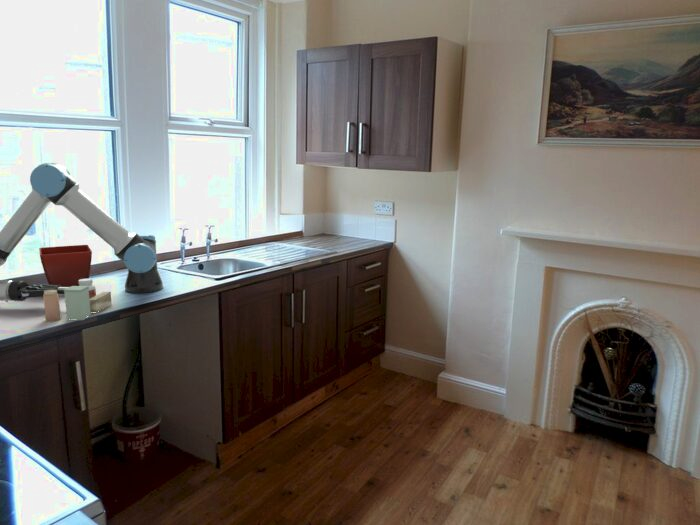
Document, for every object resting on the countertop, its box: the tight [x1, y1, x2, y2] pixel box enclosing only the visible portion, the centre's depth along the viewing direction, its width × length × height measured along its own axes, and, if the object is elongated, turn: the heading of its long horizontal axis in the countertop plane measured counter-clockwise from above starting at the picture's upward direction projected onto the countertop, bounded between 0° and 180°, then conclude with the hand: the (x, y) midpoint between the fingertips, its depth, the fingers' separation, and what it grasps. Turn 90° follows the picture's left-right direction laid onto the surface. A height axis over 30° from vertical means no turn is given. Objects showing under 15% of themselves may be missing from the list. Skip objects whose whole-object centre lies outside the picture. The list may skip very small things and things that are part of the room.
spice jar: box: [42, 290, 62, 322], centre depth 192 cm, size 5×5×10 cm
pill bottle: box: [78, 278, 97, 299], centre depth 205 cm, size 6×6×11 cm
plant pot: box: [38, 244, 93, 287], centre depth 236 cm, size 19×19×17 cm
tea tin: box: [64, 286, 92, 321], centre depth 194 cm, size 6×6×11 cm
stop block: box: [89, 291, 112, 313], centre depth 206 cm, size 3×12×5 cm, turn 179°
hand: (76, 291), depth 205 cm, fingers closed
